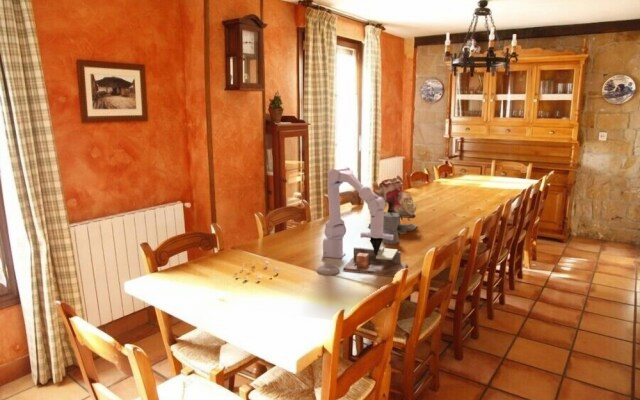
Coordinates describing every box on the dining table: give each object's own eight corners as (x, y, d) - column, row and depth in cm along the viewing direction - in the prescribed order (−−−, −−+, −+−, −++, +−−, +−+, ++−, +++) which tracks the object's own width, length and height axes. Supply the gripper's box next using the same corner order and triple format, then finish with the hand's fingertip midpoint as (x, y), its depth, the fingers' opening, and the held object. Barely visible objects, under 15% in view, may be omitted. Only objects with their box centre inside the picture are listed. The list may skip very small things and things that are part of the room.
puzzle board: (343, 270, 205) (343, 256, 204) (352, 260, 219) (352, 246, 218) (401, 277, 196) (401, 262, 195) (407, 265, 210) (407, 252, 209)
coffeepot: (405, 243, 245) (406, 210, 241) (392, 246, 240) (392, 212, 236) (386, 236, 257) (386, 205, 254) (373, 239, 252) (373, 207, 249)
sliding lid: (376, 258, 200) (376, 253, 200) (382, 249, 212) (382, 245, 212) (391, 259, 198) (392, 255, 197) (397, 251, 210) (397, 246, 209)
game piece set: (257, 264, 216) (257, 256, 215) (288, 273, 204) (288, 265, 203) (224, 276, 201) (224, 267, 201) (256, 286, 189) (255, 277, 188)
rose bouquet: (408, 236, 258) (409, 183, 252) (364, 228, 276) (364, 179, 270) (427, 226, 278) (429, 177, 272) (385, 220, 296) (385, 174, 290)
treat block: (356, 268, 208) (356, 255, 207) (359, 265, 212) (359, 252, 211) (366, 269, 206) (366, 256, 205) (368, 266, 211) (368, 253, 209)
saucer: (314, 273, 202) (314, 271, 201) (321, 266, 211) (321, 264, 211) (335, 276, 198) (335, 274, 198) (342, 268, 207) (342, 266, 207)
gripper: (358, 225, 202) (358, 255, 205) (391, 228, 197) (390, 258, 200) (362, 221, 209) (362, 250, 211) (394, 224, 204) (393, 253, 206)
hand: (376, 253), depth 206 cm, fingers closed
